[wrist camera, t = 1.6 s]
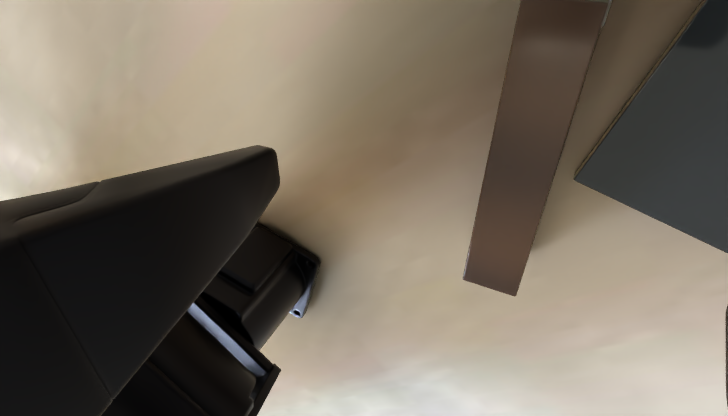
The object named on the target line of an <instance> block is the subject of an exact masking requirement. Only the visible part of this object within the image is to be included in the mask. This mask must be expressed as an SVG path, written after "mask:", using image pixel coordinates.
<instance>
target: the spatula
mask: <svg viewBox="0 0 728 416" xmlns="http://www.w3.org/2000/svg"><path fill="white" fill-rule="evenodd" d="M611 2H612V0H521V2H520V7H519V11H518V16H517V21H516V26H515V30H514V35H513V40H512V45H511V50H510V54H509V59H508V64H507V69H506V74H505V78H504V83H503V88H502V93H501V98H500V102H499V107H498V112H497V117H496V122H495V126H494V131H493V136H492V141H491V146H490V150H489V155H488V160H487V165H486V170H485V174H484V179H483V184H482V189H481V194H480V198H479V203H478V208H477V213H476V218H475V222H474V227H473V232H472V237H471V241H470V246H469V251H468V256H467V261H466V265H465V270H464V275H463V280H465V281H468V282H472V283H475V284H478V285H481V286H484V287H487V288H490V289H493V290H496V291H499V292H503V293H506V294H509V295H512V296H516V295H517V291H518V288H519V285H520V282H521V279H522V276H523V273H524V269H525V266H526V263H527V260H528V257H529V254H530V250H531V247H532V244H533V241H534V238H535V235H536V232H537V228H538V225H539V222H540V219H541V216H542V213H543V209H544V206H545V203H546V200H547V197H548V194H549V191H550V187H551V184H552V181H553V178H554V175H555V172H556V169H557V165H558V162H559V159H560V156H561V153H562V150H563V146H564V143H565V140H566V137H567V134H568V131H569V128H570V124H571V121H572V118H573V115H574V112H575V109H576V105H577V102H578V99H579V96H580V93H581V90H582V87H583V83H584V80H585V77H586V74H587V71H588V68H589V65H590V61H591V58H592V55H593V52H594V49H595V46H596V42H597V39H598V36H599V33H600V30H601V27H603V26H604V24H605V21H606V18H607V15H608V12H609V9H610V6H611Z"/></svg>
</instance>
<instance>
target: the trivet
mask: <svg viewBox="0 0 728 416" xmlns="http://www.w3.org/2000/svg"><path fill="white" fill-rule="evenodd" d="M574 180H575V181H577V182H579V183H581V184H583V185H585V186H587V187H589V188H591V189H594V190H596V191H598V192H600V193H602V194H604V195H606V196H608V197H610V198H612V199H615V200H617V201H619V202H621V203H623V204H625V205H627V206H629V207H631V208H633V209H636V210H638V211H640V212H642V213H644V214H646V215H648V216H650V217H652V218H654V219H657V220H659V221H661V222H663V223H665V224H667V225H669V226H671V227H673V228H675V229H678V230H680V231H682V232H684V233H686V234H688V235H690V236H692V237H694V238H696V239H699V240H701V241H703V242H705V243H707V244H709V245H711V246H713V247H715V248H717V249H720V250H722V251H724V252H726V253H728V0H702V2H701V3H700V4H699V6H698V7H697V9H696V10H695V11H694V13H693V14H692V15H691V17H690V18H689V19H688V21H687V22H686V23H685V25H684V26H683V28H682V29H681V30H680V32H679V33H678V34H677V36H676V37H675V38H674V40H673V41H672V42H671V44H670V45H669V47H668V48H667V49H666V51H665V52H664V53H663V55H662V56H661V57H660V59H659V60H658V61H657V63H656V64H655V66H654V67H653V68H652V70H651V71H650V72H649V74H648V75H647V76H646V78H645V79H644V81H643V82H642V83H641V85H640V86H639V87H638V89H637V90H636V91H635V93H634V94H633V95H632V97H631V98H630V100H629V101H628V102H627V104H626V105H625V106H624V108H623V109H622V110H621V112H620V113H619V114H618V116H617V117H616V119H615V120H614V121H613V123H612V124H611V125H610V127H609V128H608V129H607V131H606V132H605V133H604V135H603V136H602V138H601V139H600V140H599V142H598V143H597V144H596V146H595V147H594V148H593V150H592V151H591V152H590V154H589V155H588V157H587V158H586V159H585V161H584V162H583V163H582V165H581V166H580V167H579V169H578V170H577V171H576V173H575V174H574Z"/></svg>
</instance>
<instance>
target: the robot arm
mask: <svg viewBox="0 0 728 416" xmlns="http://www.w3.org/2000/svg"><path fill="white" fill-rule="evenodd" d="M279 185H280V176H279V168H278V161H277V154H276V152H275V150H273V149H272V148H268V147H264V146H260V145H256V146H251V147H247V148H243V149H238V150H234V151H229V152H225V153H221V154H216V155H212V156H207V157H203V158H199V159H194V160H190V161H185V162H181V163H177V164H172V165H168V166H163V167H159V168H155V169H150V170H146V171H142V172H137V173H133V174H128V175H124V176H120V177H115V178H111V179H106V180H102V181H101V182H93V183H89V184H84V185H80V186H75V187H70V188H66V189H61V190H57V191H52V192H47V193H42V194H37V195H31V196H26V197H21V198H16V199H10V200H5V201H0V416H257V414H258V413H259V411H260V409H261V407H262V405H263V403H264V401H265V399H266V398H267V396H268V394H269V392H270V390H271V388H272V386H273V384H274V383H275V381H276V379H277V377H278V375H279V373H280V371H281V369H280V368H279V367H278V366H277V365H276V364H272V363H271V362H270V361H269V360H268V359H267V358H266V357H265V356H264V355H263V354H262V353H261V352H260V351H259V350H260V349H261V348H262V346H263V345H264V344H265V343H266V341H267V340H268V339H269V338H270V336H271V335H272V334H273V332H274V331H275V330H276V329H277V327H278V326H279V325H280V323H281V322H282V321H283V320H284V318H285V317H286V316H287V315H288V313H291V314H293V315H294V316H296V317H298V318H302V317H303V316H304V314H305V313H306V311H307V307H308V304H309V300H310V297H311V294H312V290H313V287H314V284H315V280H316V277H317V274H318V270H319V267H320V260H319V259H318V258H317V257H316V256H315V255H313V254H311V253H309V252H307V251H306V250H304V249H302V248H300V247H299V246H297V245H295V244H293V243H292V242H290V241H288V240H286V239H284V238H283V237H281V236H279V235H277V234H276V233H274V232H272V231H270V230H269V229H267V228H265V227H263V226H261V225H260V224H258V223H257V221H258V219H259V218H260V216H261V215H262V213H263V212H264V210H265V209H266V207H267V206H268V204H269V203H270V201H271V200H272V198H273V197H274V195H275V194H276V192H277V190H278V188H279ZM726 396H727V405H728V306H727V309H726Z"/></svg>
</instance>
